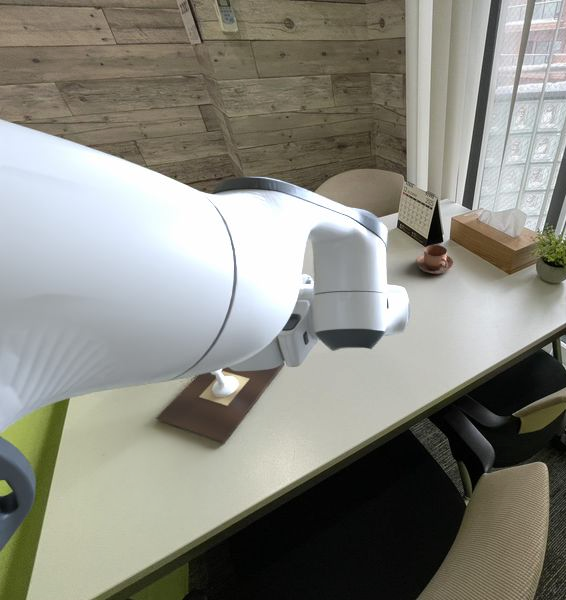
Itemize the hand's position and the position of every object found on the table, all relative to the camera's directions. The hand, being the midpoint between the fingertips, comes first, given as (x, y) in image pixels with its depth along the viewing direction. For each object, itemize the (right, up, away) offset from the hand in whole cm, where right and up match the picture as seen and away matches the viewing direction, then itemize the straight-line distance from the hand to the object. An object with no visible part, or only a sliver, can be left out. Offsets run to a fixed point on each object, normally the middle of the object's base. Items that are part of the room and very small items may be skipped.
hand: (215, 314), depth 50 cm
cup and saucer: (+40, +13, +57) cm, 71 cm away
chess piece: (-8, -16, +19) cm, 26 cm away
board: (-9, -17, +19) cm, 27 cm away
